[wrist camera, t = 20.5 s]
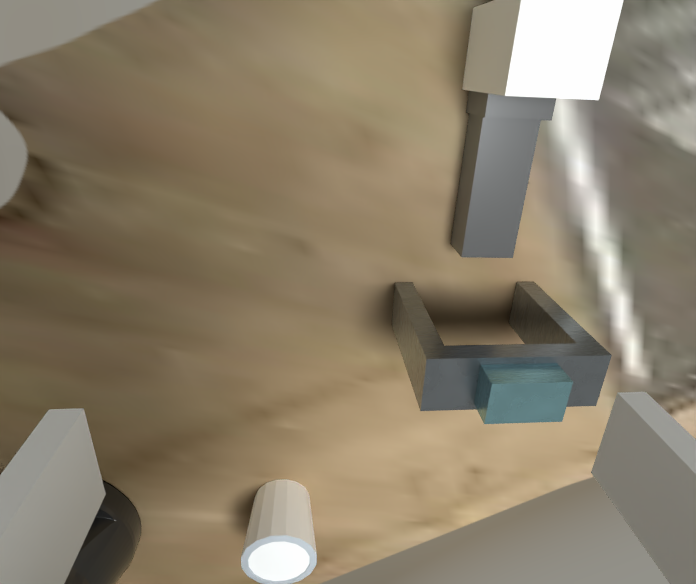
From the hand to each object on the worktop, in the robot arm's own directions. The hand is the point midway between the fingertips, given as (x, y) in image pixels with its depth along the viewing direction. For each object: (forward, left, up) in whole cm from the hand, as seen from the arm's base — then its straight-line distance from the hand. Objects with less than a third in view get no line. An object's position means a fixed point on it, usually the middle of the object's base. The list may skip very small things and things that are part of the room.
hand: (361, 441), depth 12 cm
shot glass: (-4, -32, -27) cm, 42 cm away
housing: (+12, -10, -27) cm, 31 cm away
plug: (+12, +5, -27) cm, 30 cm away
